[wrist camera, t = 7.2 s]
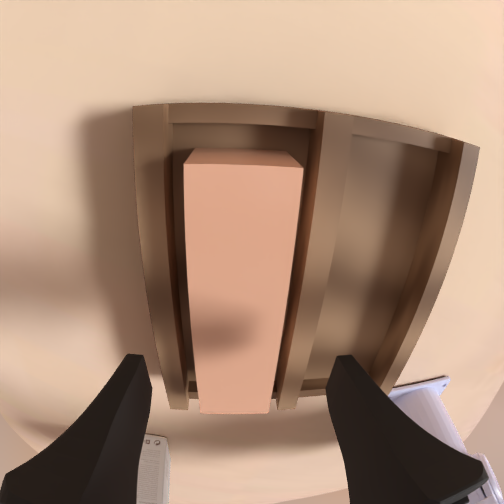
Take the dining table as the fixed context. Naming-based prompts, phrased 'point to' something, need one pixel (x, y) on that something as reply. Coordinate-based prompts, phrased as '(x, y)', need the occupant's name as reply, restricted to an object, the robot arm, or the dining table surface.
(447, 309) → the dining table surface
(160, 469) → the skincare box
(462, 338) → the dining table surface
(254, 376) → the clay strip
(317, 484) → the dining table surface
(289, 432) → the dining table surface
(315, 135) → the rack
